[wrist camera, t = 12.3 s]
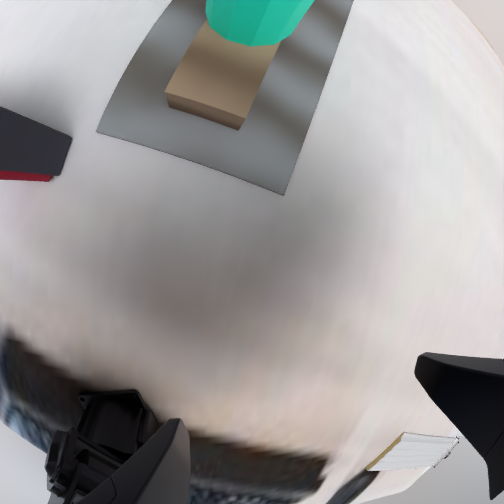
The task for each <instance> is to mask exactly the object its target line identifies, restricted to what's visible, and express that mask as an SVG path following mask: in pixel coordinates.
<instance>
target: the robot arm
mask: <svg viewBox="0 0 504 504" xmlns="http://www.w3.org/2000/svg"><path fill="white" fill-rule="evenodd" d="M414 373H415V377H416V378H417V380H418V381H419V382H420V384H421V385H422V387H423V388H424V389H425V391H426V392H427V394H428V395H429V397H430V398H431V399H432V400H433V402H434V403H435V404H436V405H437V406H438V407H439V408H440V409H441V410H442V412H443V413H444V414H445V415H446V416H447V417H448V418H449V419H450V421H451V422H452V423H453V424H454V425H455V426H456V427H457V428H458V430H459V431H460V432H461V433H462V434H463V435H464V436H465V438H466V439H467V440H468V441H469V442H470V443H471V444H472V446H473V447H474V448H475V449H476V450H477V452H478V453H479V454H480V455H481V456H482V457H483V458H484V460H485V462H486V464H487V468H488V476H489V477H488V478H489V494H490V500H493V499H494V498H495V497H496V496H497V495H498V494H500V493H501V492H502V491H503V490H504V359H503V360H502V359H495V358H480V357H467V356H457V355H447V354H438V353H430V352H425V353H423V354H421V355H419V356H418V358H417V362H416V366H415V371H414ZM133 395H135V396H133ZM83 398H84V399H83ZM78 400H79V402H80V403H81V405H82V407H83V408H84V410H85V411H84V413H83V416H82V418H81V421H80V423H79V426H78V428H77V430H76V429H75V428H73V427H72V428H71V429H70V430H69V431H68V432H66V431H65V432H64V431H59V430H57V431H56V432H55V434H54V436H53V438H52V441H51V443H50V446H49V448H48V452H47V457H46V463H45V470H46V472H47V490H49V491H50V492H52V493H51V496H50V499H49V502H48V504H188V497H189V485H190V473H191V463H190V443H189V434H188V431H187V429H186V427H185V425H184V423H183V421H182V420H181V419H180V418H174V419H169V420H168V421H167V422H166V423H165V424H164V425H163V426H162V427H161V428H160V427H159V425H158V424H157V422H156V420H155V418H154V416H153V415H152V413H151V411H150V410H149V409H147V407H146V405H145V403H144V402H143V400H142V398H141V396H140V394H139V392H137V391H135V390H128V391H114V392H94V393H79V395H78Z"/></svg>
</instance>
